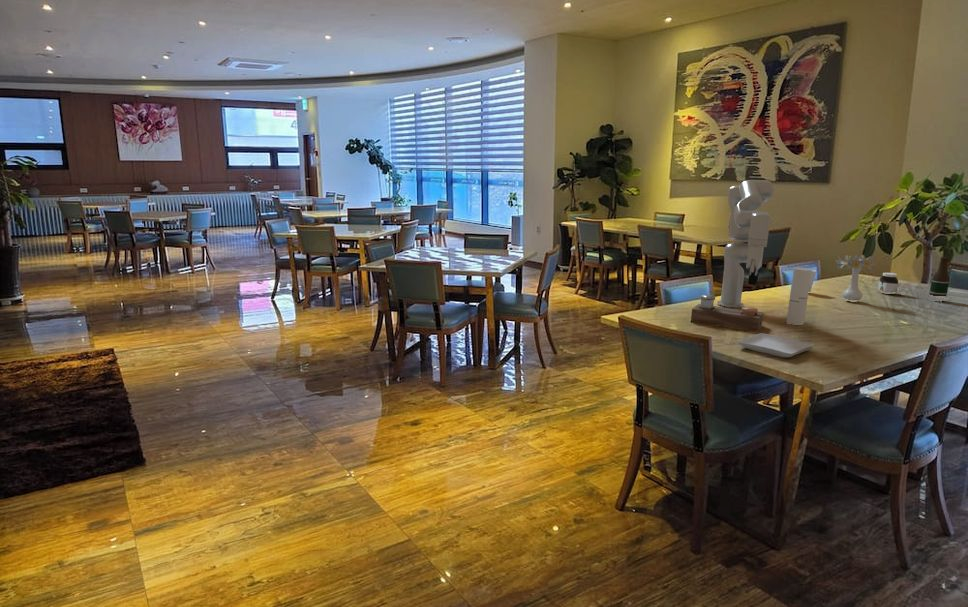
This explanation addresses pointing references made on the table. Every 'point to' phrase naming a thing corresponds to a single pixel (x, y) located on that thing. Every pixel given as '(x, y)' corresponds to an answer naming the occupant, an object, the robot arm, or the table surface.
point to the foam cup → (812, 279)
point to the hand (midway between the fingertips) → (752, 284)
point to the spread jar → (889, 283)
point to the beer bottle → (940, 279)
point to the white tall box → (798, 296)
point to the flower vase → (854, 274)
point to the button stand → (727, 318)
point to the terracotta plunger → (749, 310)
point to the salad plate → (775, 345)
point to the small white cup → (707, 301)
